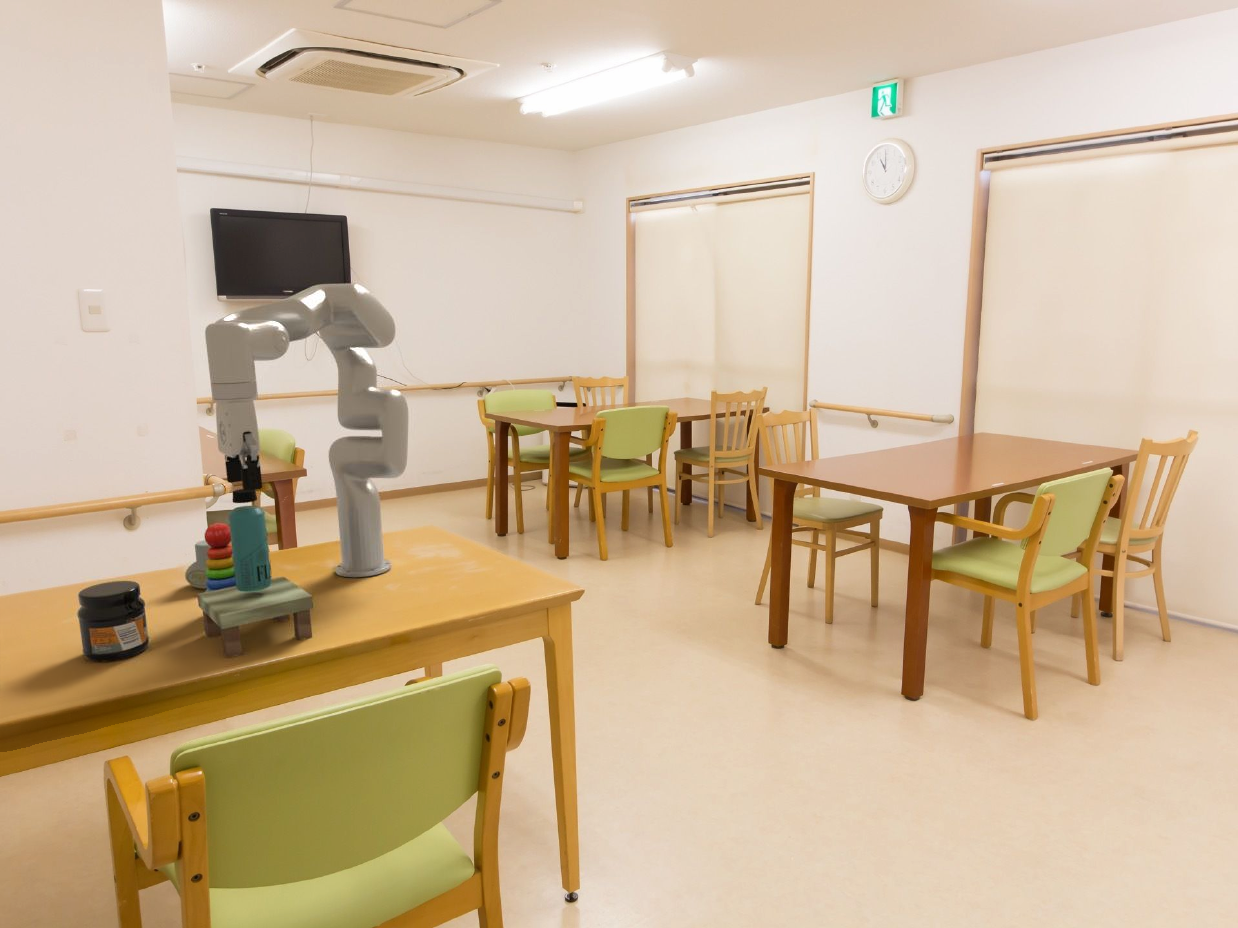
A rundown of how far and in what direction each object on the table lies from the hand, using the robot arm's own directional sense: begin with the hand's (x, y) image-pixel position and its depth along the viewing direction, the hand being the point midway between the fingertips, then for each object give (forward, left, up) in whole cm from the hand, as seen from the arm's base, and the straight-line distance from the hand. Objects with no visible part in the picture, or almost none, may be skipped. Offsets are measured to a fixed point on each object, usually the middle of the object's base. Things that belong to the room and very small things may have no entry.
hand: (244, 485), depth 159 cm
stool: (0, 0, -29) cm, 29 cm away
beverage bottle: (0, 0, -21) cm, 21 cm away
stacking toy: (-17, -1, -29) cm, 34 cm away
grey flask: (-39, +2, -29) cm, 49 cm away
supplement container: (-9, -22, -29) cm, 38 cm away
